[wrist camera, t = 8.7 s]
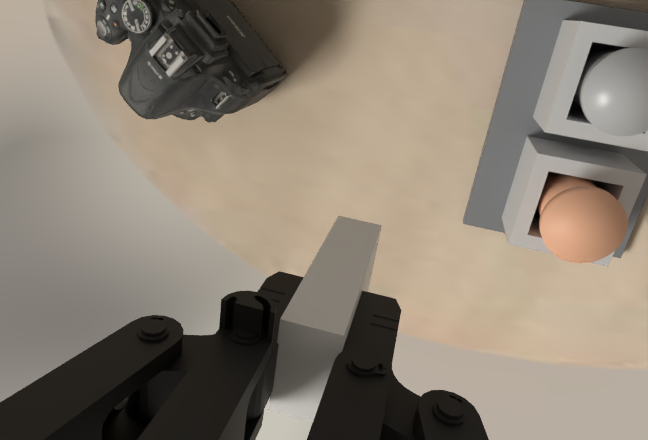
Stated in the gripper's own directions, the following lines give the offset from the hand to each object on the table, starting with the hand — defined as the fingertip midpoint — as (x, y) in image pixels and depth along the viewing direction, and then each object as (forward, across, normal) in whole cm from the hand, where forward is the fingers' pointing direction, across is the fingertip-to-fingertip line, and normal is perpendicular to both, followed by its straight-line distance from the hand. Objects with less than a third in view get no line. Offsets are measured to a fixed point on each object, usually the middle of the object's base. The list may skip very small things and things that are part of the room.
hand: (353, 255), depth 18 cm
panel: (+24, +12, +2) cm, 27 cm away
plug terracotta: (+22, +12, -3) cm, 25 cm away
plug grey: (+23, +12, +6) cm, 26 cm away
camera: (+25, -16, +3) cm, 30 cm away
